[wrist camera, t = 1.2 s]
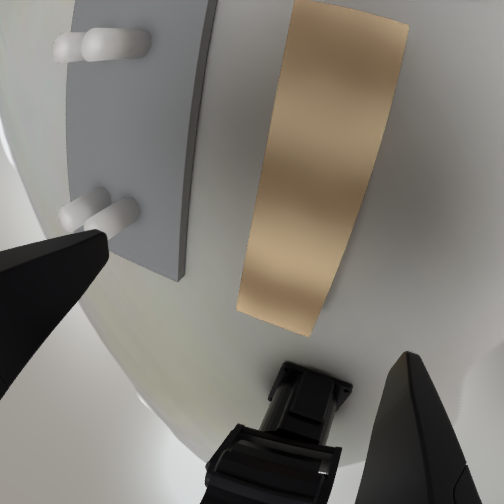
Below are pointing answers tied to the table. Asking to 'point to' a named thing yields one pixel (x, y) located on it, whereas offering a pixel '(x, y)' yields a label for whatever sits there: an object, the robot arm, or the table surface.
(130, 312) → the table surface
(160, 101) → the peg board
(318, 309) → the oak plank
